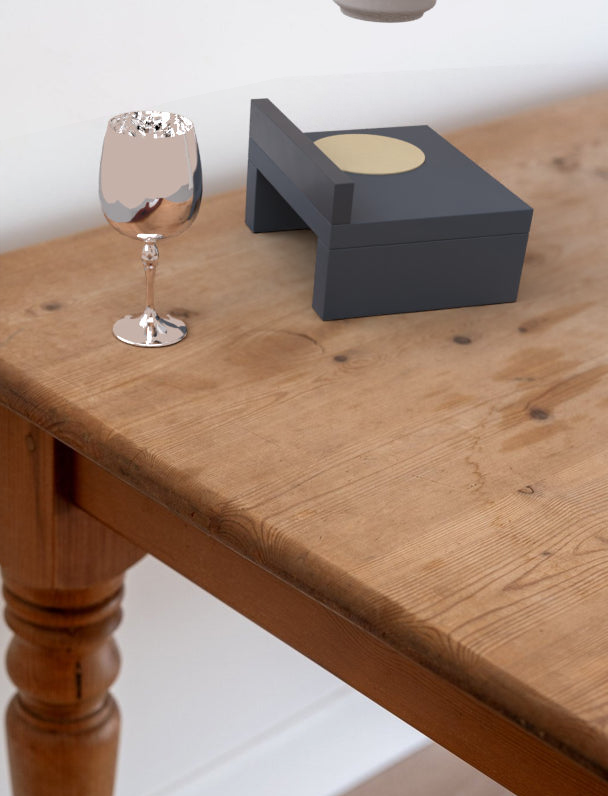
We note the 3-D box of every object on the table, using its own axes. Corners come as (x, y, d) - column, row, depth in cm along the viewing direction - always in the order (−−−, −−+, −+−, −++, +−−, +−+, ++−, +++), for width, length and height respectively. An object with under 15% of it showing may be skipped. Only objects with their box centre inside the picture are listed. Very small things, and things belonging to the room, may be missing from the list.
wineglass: (214, 321, 78) (221, 118, 71) (172, 360, 74) (175, 148, 67) (129, 301, 80) (128, 101, 73) (83, 338, 76) (77, 130, 68)
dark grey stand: (416, 208, 94) (432, 88, 89) (516, 302, 82) (541, 169, 76) (244, 222, 91) (250, 98, 86) (322, 321, 79) (335, 184, 73)
